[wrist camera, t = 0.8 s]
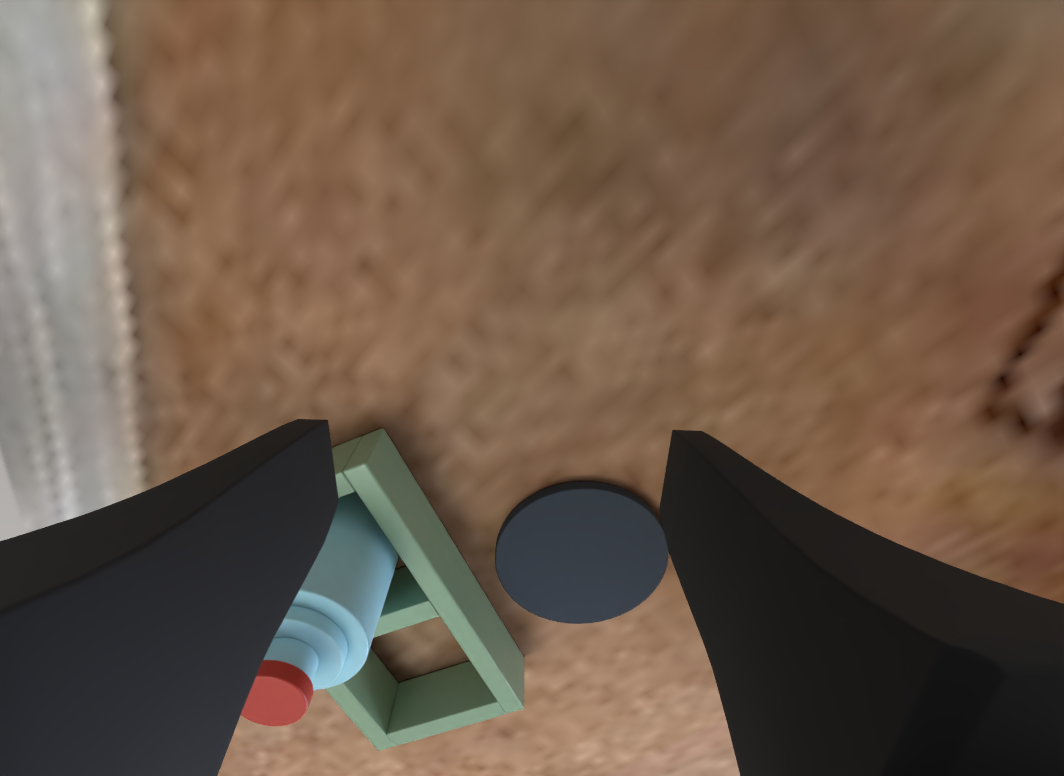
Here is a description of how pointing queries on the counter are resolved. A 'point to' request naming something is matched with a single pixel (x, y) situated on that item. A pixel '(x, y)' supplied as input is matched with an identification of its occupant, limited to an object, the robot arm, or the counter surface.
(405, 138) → the counter surface
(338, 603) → the bottle
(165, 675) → the robot arm
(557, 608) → the coaster
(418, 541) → the bottle rack
